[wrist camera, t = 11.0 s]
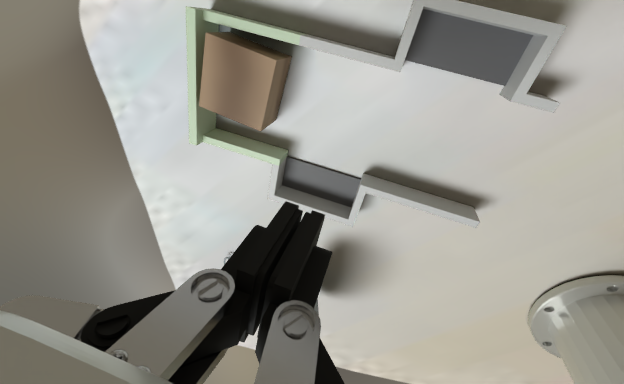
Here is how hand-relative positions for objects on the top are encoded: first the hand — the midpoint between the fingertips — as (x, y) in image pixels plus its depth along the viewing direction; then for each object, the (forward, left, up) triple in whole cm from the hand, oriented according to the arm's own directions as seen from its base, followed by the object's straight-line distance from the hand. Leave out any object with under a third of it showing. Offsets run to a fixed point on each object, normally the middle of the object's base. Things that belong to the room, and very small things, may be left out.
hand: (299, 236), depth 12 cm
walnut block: (+10, -1, -18) cm, 20 cm away
